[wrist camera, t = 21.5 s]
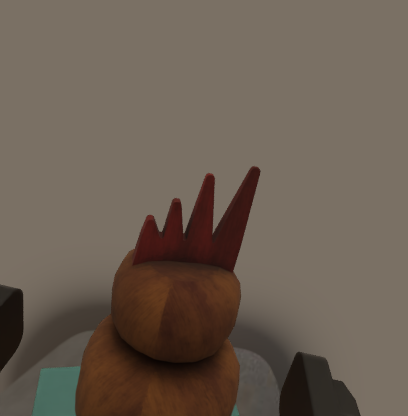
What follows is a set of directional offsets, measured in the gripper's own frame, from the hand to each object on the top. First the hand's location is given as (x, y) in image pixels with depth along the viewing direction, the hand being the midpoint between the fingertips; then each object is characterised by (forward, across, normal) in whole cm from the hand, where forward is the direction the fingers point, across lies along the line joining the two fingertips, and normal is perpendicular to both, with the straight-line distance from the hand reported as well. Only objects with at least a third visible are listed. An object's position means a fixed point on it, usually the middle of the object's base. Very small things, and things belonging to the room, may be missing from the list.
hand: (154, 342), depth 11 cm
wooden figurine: (+4, 0, +11) cm, 11 cm away
